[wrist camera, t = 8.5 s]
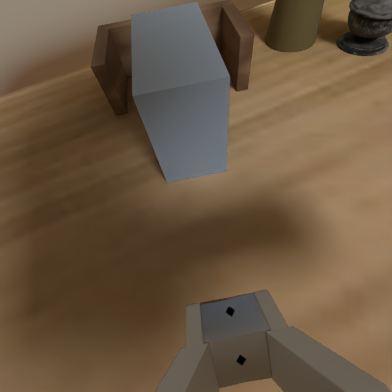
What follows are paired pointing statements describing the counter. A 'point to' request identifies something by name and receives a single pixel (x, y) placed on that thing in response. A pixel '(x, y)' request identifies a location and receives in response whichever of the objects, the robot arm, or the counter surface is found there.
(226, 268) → the counter surface
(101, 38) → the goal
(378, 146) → the counter surface
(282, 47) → the olive pawn
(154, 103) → the block
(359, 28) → the grey chess bishop
